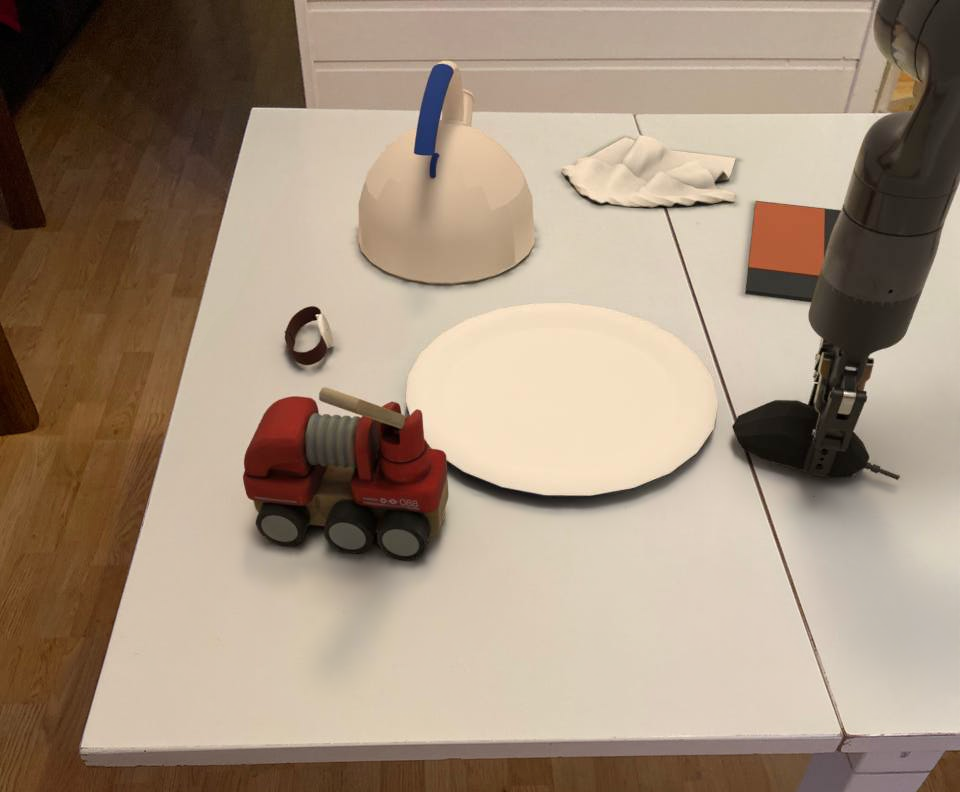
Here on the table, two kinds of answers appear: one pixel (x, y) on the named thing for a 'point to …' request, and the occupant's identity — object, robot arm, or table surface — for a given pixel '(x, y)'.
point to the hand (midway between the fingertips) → (815, 445)
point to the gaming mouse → (795, 438)
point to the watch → (324, 328)
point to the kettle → (445, 196)
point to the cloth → (650, 175)
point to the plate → (562, 399)
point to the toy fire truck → (346, 475)
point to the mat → (788, 249)
